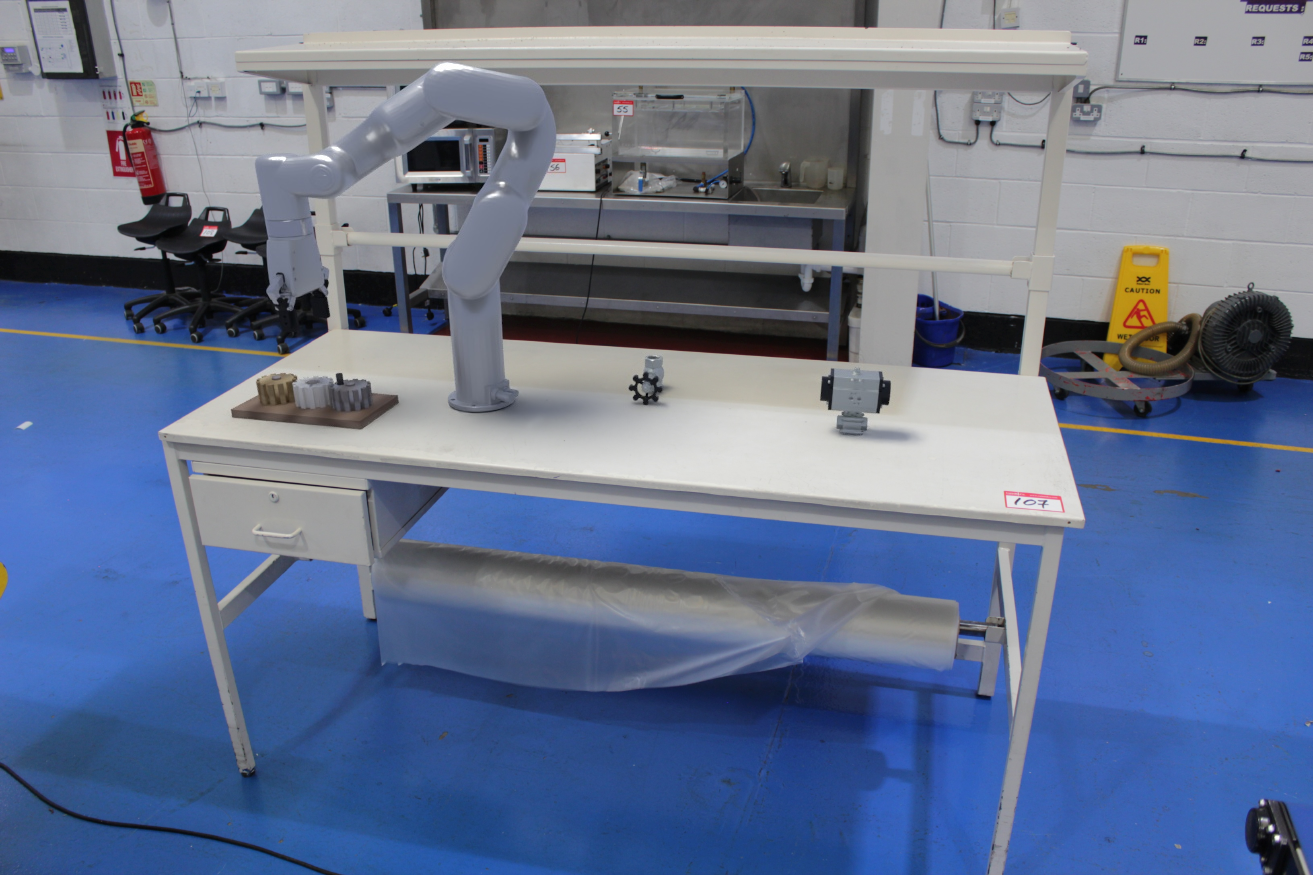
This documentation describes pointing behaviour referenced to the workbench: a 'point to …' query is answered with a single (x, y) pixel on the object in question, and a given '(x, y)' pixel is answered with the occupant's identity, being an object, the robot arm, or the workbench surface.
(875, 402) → the pneumatic valve
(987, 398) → the workbench surface
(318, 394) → the gear
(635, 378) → the valve
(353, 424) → the gear board
